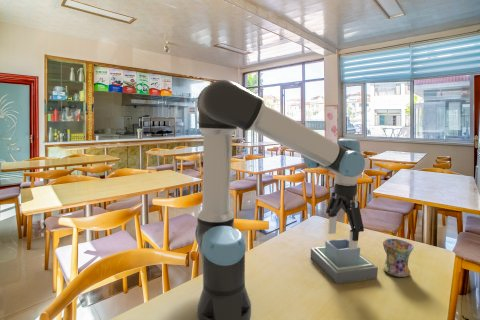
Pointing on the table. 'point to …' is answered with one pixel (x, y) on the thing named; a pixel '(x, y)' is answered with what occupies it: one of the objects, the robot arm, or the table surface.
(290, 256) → the table surface
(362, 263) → the top crate
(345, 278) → the bottom crate
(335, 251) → the small crate
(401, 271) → the mug
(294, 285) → the table surface
